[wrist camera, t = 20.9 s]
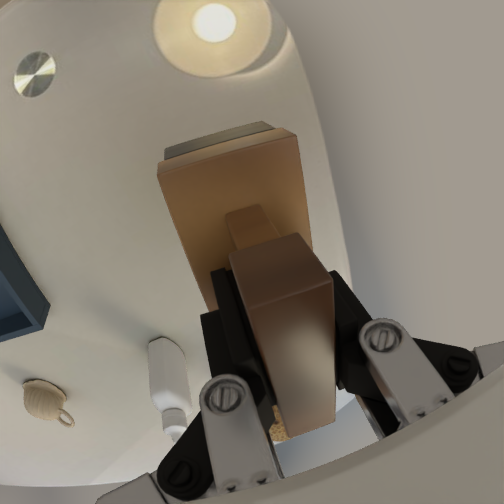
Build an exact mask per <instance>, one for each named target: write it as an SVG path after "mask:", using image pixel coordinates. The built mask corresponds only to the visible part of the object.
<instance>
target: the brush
mask: <svg viewBox="0 0 504 504" xmlns="http://www.w3.org/2000/svg"><path fill="white" fill-rule="evenodd" d="M157 178H158V181H159V184H160V187H161V189H162V192H163V195H164V198H165V201H166V203H167V206H168V209H169V212H170V214H171V217H172V220H173V222H174V225H175V228H176V230H177V233H178V236H179V238H180V241H181V243H182V246H183V249H184V251H185V254H186V256H187V259H188V261H189V264H190V266H191V269H192V271H193V274H194V276H195V279H196V281H197V284H198V286H199V289H200V291H201V293H202V296H203V298H204V301H205V303H206V305H207V308H208V310H209V312H211V311H214V310H217V309H219V308H218V304H217V300H216V296H215V292H214V288H213V284H212V280H211V275H210V272H211V271H214V270H217V269H220V268H223V267H225V269H226V271H228V270H231V269H232V270H233V274H234V277H235V280H236V283H237V286H238V290H239V293H240V296H241V299H242V302H243V305H244V309H245V312H246V314H247V317H248V320H249V323H250V326H251V329H252V332H253V335H254V338H255V340H256V343H257V346H258V349H259V352H260V355H261V358H262V361H263V364H264V367H265V370H266V373H267V376H268V379H269V382H270V385H271V388H272V391H273V394H274V397H275V400H276V403H277V408H278V411H279V414H280V416H281V419H282V422H283V425H284V427H285V430H286V433H287V435H288V437H289V438H292V437H295V436H298V435H301V434H304V433H306V432H309V431H312V430H315V429H317V428H319V427H322V426H325V425H328V424H330V423H333V422H334V421H335V409H336V342H335V309H334V287H333V278H332V277H331V276H330V274H329V273H328V271H327V270H326V269H325V267H324V266H323V265H322V263H321V262H320V261H319V259H318V258H317V256H316V255H315V254H314V252H313V247H312V239H311V231H310V223H309V215H308V207H307V200H306V193H305V186H304V179H303V172H302V166H301V159H300V153H299V147H298V141H297V136H296V135H295V134H293V133H291V132H289V131H288V130H286V129H284V128H277V129H276V128H274V127H272V126H270V125H269V124H267V123H265V122H263V121H259V122H255V123H251V124H247V125H243V126H239V127H236V128H232V129H228V130H224V131H221V132H217V133H214V134H210V135H207V136H203V137H200V138H197V139H193V140H190V141H187V142H184V143H180V144H177V145H174V146H171V147H168V148H166V149H165V152H164V161H161V162H159V163H158V170H157Z"/></svg>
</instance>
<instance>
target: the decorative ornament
mask: <svg viewBox="0 0 504 504" xmlns="http://www.w3.org/2000/svg"><path fill="white" fill-rule="evenodd" d="M23 389H24V405H25V408H26V410H27V411H28V412H29V413H30V414H31V415H33V416H34V417H37V418H40V419H43V420H55V419H57V420H58V421H59V422H60V423H61V424H63V425H64V426H67V427H73V426H74V425H75V422H74V420H73V418H72V417H71V416H70V415H69V414H68V413H67V412H66V411H65V410H63V409H62V408H63V403H64V402H66V397H65V394H64V393H63V392H62V391H61V390H59V389H58V388H57V387H56V386H54V385H52V384H51V383H49V382H47V381H42V380H39V379H38V380H34V381H29V382H25V383H24V384H23ZM61 413H62V414H64V415H65V416H67V417H68V418H69V420H70V421H71V424H68V423H66V422H65V421H63V420H62V419H61V418H60V415H61Z"/></svg>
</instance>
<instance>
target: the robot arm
mask: <svg viewBox="0 0 504 504" xmlns="http://www.w3.org/2000/svg"><path fill="white" fill-rule="evenodd" d="M328 273H329V274H330V276H331V277H332V278H333V287H334V309H335V342H336V385H337V387H338V389H339V390H342V389H344V388H345V389H346V391H347V392H348V393H352V394H355V396H356V399H357V401H358V402H359V404H360V406H361V408H362V410H363V411H364V413H365V415H366V417H367V419H368V421H369V423H370V424H371V426H372V428H373V430H374V432H375V434H376V436H377V438H378V439H379V441H378V442H375V443H373V444H371V445H369V446H367V447H365V448H362V449H360V450H358V451H356V452H354V453H351V454H349V455H346V456H344V457H342V458H339V459H337V460H334V461H332V462H329V463H327V464H324V465H321V466H319V467H316V468H313V469H311V470H308V471H305V472H302V473H299V474H296V475H293V476H291V477H287V478H285V476H284V473H283V471H282V467H281V465H280V461H279V459H278V456H277V453H276V449H275V447H274V443H273V440H272V437H271V434H270V431H269V430H270V428H271V426H272V425H273V423H274V421H275V420H276V418H275V414H274V411H273V408H272V406H275V405H277V403H276V400H275V397H274V394H273V391H272V388H271V385H270V382H269V379H268V376H267V373H266V370H265V367H264V364H263V361H262V358H261V355H260V352H259V349H258V346H257V343H256V340H255V338H254V335H253V332H252V329H251V326H250V323H249V320H248V317H247V314H246V312H245V309H244V305H243V302H242V299H241V296H240V293H239V290H238V286H237V283H236V280H235V277H234V274H233V270H232V269H231V270H228V271H226V269H225V267H223V268H220V269H217V270H214V271H211V272H210V275H211V280H212V284H213V288H214V292H215V296H216V300H217V304H218V308H219V309H217V310H214V311H211V312H208V313H204V314H201V315H200V319H201V325H202V330H203V336H204V341H205V346H206V351H207V356H208V361H209V366H210V371H211V376H212V379H211V380H209V381H208V382H207V383H206V384H205V385H204V387H203V388H202V390H201V392H200V395H199V403H200V409H201V411H200V412H199V413H198V415H197V416H196V417H195V419H194V420H193V421H192V423H191V424H190V425H189V426H188V428H187V429H186V430H185V432H184V433H183V434H182V436H181V437H180V438H179V440H178V441H177V442H176V443H175V445H174V446H173V447H172V449H171V450H170V451H169V452H168V454H167V455H166V456H165V458H164V459H163V460H162V461H161V463H160V465H159V467H158V469H157V470H156V471H154V472H152V473H151V474H149V473H148V472H147V473H145V474H143V475H141V476H140V477H138V478H136V479H134V480H132V481H130V482H128V483H127V484H124V485H122V486H120V487H118V488H117V489H115V490H112V491H110V492H108V493H106V494H104V495H103V496H101V497H100V498H98V499H97V501H96V503H95V504H504V341H502V342H498V343H494V344H489V345H484V346H479V347H474V349H473V351H468V350H467V349H464V348H461V347H457V346H451V345H446V344H441V343H436V342H431V341H426V340H421V339H417V338H412V337H411V336H410V335H409V334H408V332H407V331H406V330H405V329H404V327H403V326H401V325H400V324H399V323H398V322H396V321H394V320H392V319H387V318H378V319H374V320H373V319H372V318H371V316H370V315H369V314H368V312H367V311H366V310H365V308H364V307H363V306H362V304H361V303H360V301H359V300H358V299H357V297H356V296H355V295H354V293H353V292H352V291H351V289H350V288H349V287H348V285H347V284H346V283H345V281H344V280H343V279H342V277H341V276H340V275H339V273H338V272H337V271H335V270H333V271H330V272H328Z"/></svg>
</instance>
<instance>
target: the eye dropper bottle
mask: <svg viewBox="0 0 504 504" xmlns="http://www.w3.org/2000/svg"><path fill="white" fill-rule="evenodd" d="M148 363H149V384H150V395H151V399H152V402H153V404H154V406H155V407H156V409H157V410H158V411H159V412H160V413H161V414H162V423H163V431H164V433H165V434H167V435H170V436H171V437H172V440H173V442H174V444H175V443H176V442H177V441H178V440H179V438H180V437H181V436H182V434H183V433H184V432H185V430H186V429H187V428H188V427H187V420H186V416H188V415H190V414H191V412H192V401H191V395H190V388H189V381H188V374H187V367H186V361H185V357H184V354H183V352H182V350H181V349H180V348H179V347H178V346H177V345H176V344H175V343H173V342H172V341H170V340H169V339H166V338H159V339H157V340H154V341H152V342H150V343H149V344H148Z"/></svg>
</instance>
